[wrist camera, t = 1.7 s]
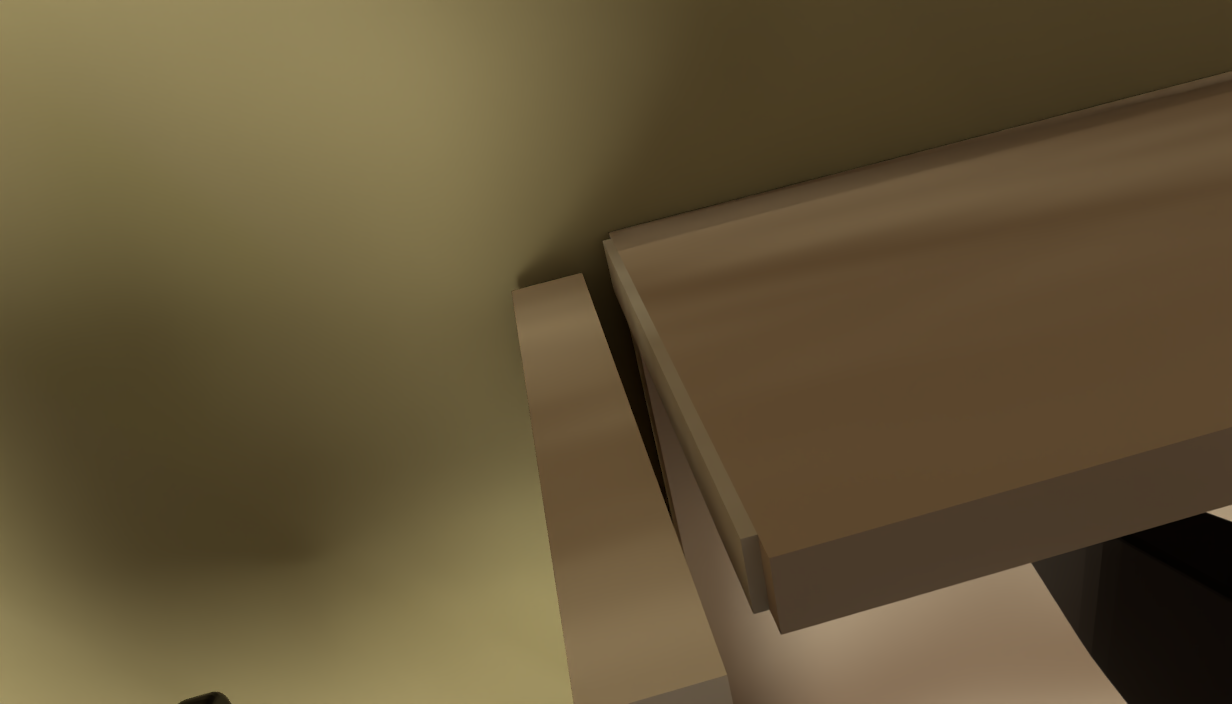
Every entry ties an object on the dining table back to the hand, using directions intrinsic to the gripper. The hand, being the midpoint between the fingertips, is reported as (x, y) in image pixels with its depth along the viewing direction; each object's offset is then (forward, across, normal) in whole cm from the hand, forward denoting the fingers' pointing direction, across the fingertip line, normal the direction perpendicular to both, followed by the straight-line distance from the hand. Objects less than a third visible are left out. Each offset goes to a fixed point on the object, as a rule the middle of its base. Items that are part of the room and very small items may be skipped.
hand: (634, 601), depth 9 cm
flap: (+2, 0, +5) cm, 5 cm away
